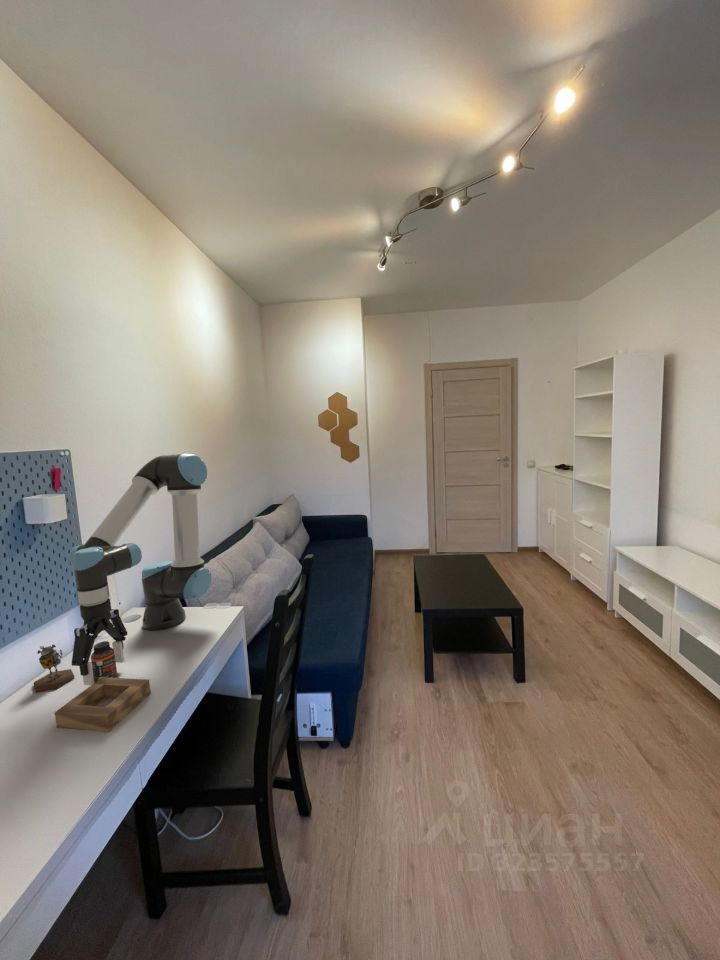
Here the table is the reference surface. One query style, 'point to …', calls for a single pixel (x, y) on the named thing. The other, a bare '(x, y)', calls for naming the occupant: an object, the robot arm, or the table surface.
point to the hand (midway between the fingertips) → (105, 672)
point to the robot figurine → (53, 678)
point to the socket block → (100, 718)
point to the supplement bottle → (103, 661)
